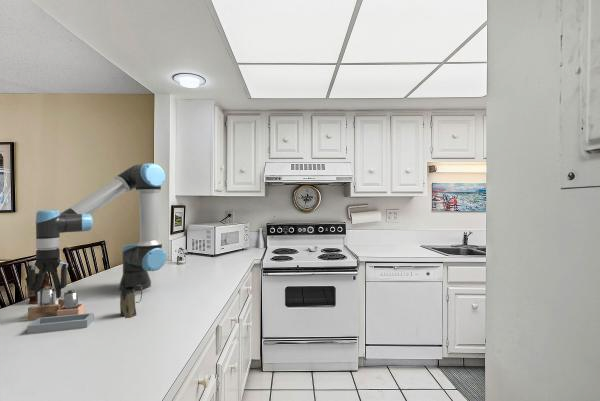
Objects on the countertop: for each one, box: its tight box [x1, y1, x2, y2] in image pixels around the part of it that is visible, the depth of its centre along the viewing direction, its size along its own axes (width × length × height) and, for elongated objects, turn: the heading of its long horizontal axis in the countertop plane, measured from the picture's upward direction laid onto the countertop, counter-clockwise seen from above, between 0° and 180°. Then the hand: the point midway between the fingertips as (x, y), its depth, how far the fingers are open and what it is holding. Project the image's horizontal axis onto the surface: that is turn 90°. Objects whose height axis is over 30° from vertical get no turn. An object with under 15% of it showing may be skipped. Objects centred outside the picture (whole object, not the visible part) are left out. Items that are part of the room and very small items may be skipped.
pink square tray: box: [57, 303, 86, 316], centre depth 127 cm, size 7×7×5 cm
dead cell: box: [63, 289, 79, 310], centre depth 127 cm, size 4×4×11 cm
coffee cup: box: [24, 272, 50, 305], centre depth 149 cm, size 9×8×13 cm
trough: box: [26, 312, 95, 335], centre depth 119 cm, size 18×8×3 cm, turn 107°
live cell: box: [41, 285, 55, 306], centre depth 130 cm, size 4×4×11 cm
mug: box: [119, 285, 143, 319], centre depth 131 cm, size 8×6×12 cm
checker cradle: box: [25, 298, 64, 322], centre depth 131 cm, size 11×10×6 cm
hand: (48, 306), depth 130 cm, fingers open, 4 cm apart
